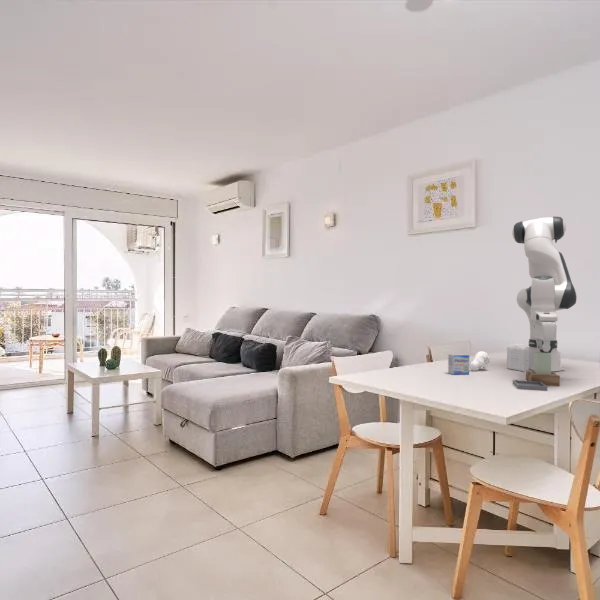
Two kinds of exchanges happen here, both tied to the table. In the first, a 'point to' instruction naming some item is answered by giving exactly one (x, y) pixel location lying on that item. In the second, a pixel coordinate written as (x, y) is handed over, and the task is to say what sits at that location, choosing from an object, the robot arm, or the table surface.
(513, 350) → the white upright block
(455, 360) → the medicine box
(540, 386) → the charcoal tray
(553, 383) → the walnut stand
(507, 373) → the table surface
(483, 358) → the white lumpy piece
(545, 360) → the plug block
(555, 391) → the table surface
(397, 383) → the table surface
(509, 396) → the table surface
